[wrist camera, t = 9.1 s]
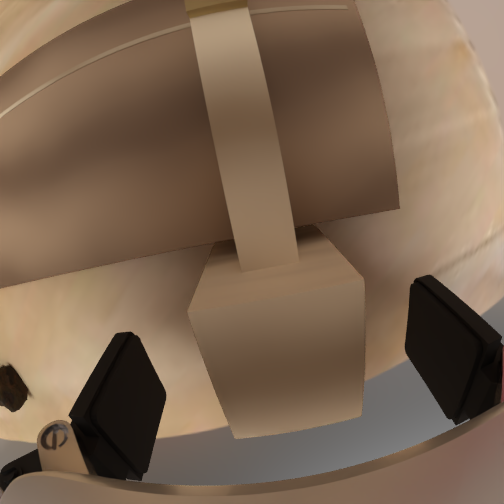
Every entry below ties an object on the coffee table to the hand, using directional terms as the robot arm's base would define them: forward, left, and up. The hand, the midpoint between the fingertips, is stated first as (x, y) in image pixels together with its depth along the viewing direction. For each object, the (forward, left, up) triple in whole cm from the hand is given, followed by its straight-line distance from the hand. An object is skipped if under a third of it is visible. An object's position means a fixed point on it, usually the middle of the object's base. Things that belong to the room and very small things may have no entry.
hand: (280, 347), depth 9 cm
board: (-9, -7, -6) cm, 13 cm away
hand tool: (+8, -33, -7) cm, 34 cm away
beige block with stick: (-5, 0, -6) cm, 8 cm away
